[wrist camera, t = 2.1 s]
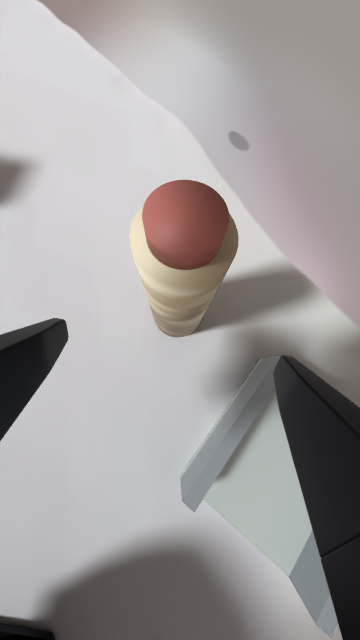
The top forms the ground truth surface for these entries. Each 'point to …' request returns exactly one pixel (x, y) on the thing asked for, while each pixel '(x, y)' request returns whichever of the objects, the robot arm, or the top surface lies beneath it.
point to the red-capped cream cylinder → (182, 252)
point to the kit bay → (261, 488)
